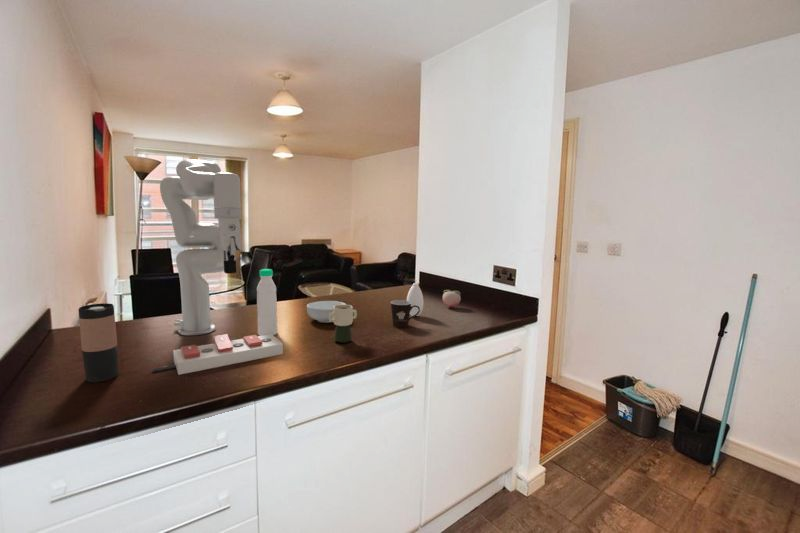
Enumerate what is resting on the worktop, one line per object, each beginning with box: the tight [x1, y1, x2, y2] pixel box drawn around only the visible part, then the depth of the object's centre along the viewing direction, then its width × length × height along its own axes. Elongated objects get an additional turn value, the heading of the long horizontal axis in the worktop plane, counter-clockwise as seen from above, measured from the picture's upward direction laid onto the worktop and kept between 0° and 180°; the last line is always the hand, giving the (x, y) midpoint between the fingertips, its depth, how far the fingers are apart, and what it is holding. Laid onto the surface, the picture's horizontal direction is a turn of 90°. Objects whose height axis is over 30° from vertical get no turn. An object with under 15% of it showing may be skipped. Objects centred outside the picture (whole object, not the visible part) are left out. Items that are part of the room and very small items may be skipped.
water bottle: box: [256, 268, 278, 336], centre depth 142 cm, size 7×7×25 cm
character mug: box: [329, 304, 358, 343], centre depth 137 cm, size 11×7×13 cm, turn 122°
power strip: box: [151, 334, 284, 376], centre depth 119 cm, size 36×12×4 cm, turn 126°
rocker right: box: [242, 334, 262, 347], centre depth 124 cm, size 4×8×1 cm, turn 36°
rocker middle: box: [213, 333, 233, 352], centre depth 118 cm, size 4×8×1 cm, turn 36°
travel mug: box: [78, 302, 120, 383], centre depth 103 cm, size 8×8×20 cm
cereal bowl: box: [306, 300, 347, 324], centre depth 164 cm, size 17×17×7 cm
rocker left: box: [180, 344, 200, 358], centre depth 114 cm, size 4×8×1 cm, turn 36°
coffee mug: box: [390, 299, 420, 329], centre depth 158 cm, size 12×9×10 cm
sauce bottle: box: [406, 278, 424, 317], centre depth 173 cm, size 8×8×18 cm
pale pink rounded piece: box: [442, 289, 462, 309], centre depth 191 cm, size 9×8×10 cm
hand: (230, 272), depth 119 cm, fingers closed
